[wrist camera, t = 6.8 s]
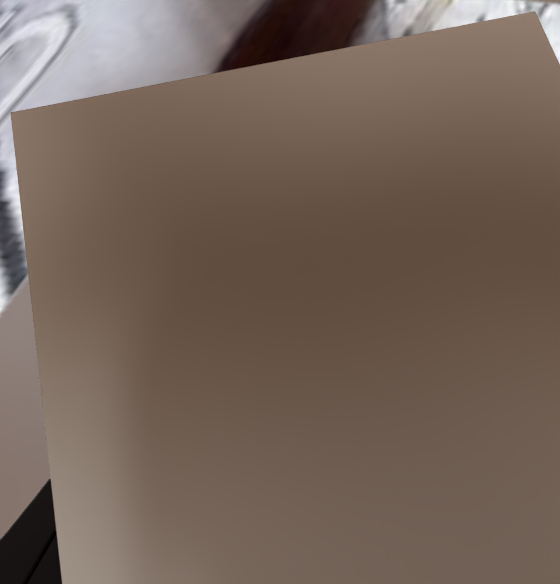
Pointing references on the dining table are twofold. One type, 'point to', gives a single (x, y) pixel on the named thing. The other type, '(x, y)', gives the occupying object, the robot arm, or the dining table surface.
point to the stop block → (305, 317)
